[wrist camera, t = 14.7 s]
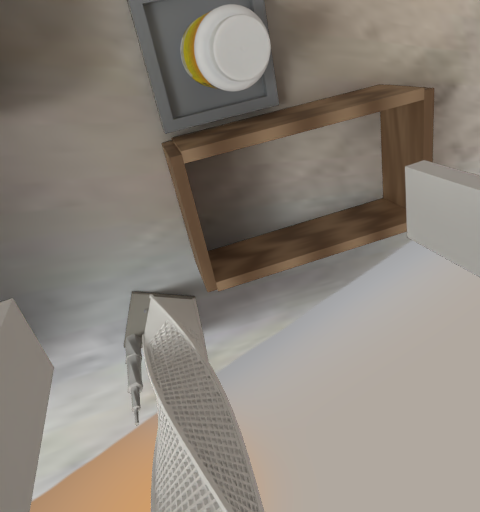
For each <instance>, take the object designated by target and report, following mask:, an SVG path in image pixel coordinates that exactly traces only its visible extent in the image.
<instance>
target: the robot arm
mask: <svg viewBox="0 0 480 512" xmlns="http://www.w3.org/2000/svg"><path fill="white" fill-rule="evenodd" d="M405 185H406V218H407V238H409V239H411V240H413V241H415V242H417V243H418V244H420V245H422V246H424V247H426V248H427V249H429V250H431V251H433V252H435V253H437V254H438V255H440V256H442V257H444V258H445V259H447V260H449V261H451V262H453V263H455V264H456V265H458V266H460V267H462V268H464V269H465V270H467V271H469V272H471V273H473V274H474V275H476V276H478V277H480V176H479V175H476V174H472V173H468V172H465V171H461V170H458V169H454V168H451V167H447V166H444V165H440V164H436V163H433V162H429V161H426V160H423V161H420V162H417V163H414V164H411V165H408V166H405ZM53 370H54V367H53V365H52V363H51V362H50V360H49V358H48V356H47V355H46V353H45V351H44V350H43V348H42V346H41V345H40V343H39V341H38V340H37V338H36V336H35V335H34V333H33V331H32V330H31V328H30V326H29V325H28V323H27V321H26V319H25V318H24V316H23V314H22V313H21V311H20V309H19V308H18V306H17V304H16V303H15V301H14V299H13V298H12V299H9V300H6V301H3V302H0V512H29V511H30V505H31V500H32V494H33V488H34V482H35V476H36V470H37V464H38V459H39V453H40V447H41V441H42V435H43V429H44V423H45V417H46V412H47V406H48V400H49V394H50V388H51V382H52V376H53Z"/></svg>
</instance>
